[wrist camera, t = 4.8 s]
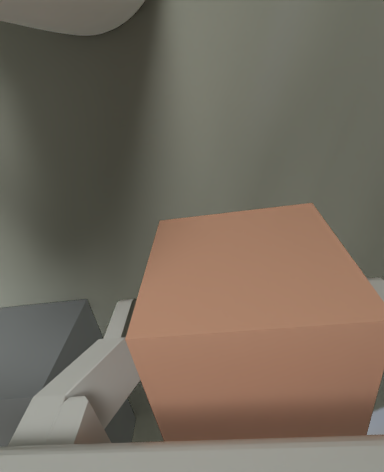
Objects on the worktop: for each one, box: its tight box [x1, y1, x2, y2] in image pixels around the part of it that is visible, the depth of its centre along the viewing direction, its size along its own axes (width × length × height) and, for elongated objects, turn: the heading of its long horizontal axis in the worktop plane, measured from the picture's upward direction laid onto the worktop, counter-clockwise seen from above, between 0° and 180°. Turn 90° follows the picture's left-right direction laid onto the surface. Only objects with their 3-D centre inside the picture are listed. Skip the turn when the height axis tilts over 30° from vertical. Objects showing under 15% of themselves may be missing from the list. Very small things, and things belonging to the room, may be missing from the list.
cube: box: [125, 203, 384, 441], centre depth 9 cm, size 5×5×5 cm
